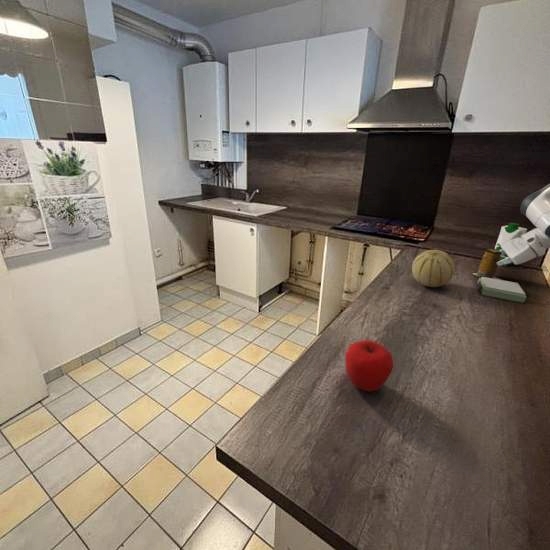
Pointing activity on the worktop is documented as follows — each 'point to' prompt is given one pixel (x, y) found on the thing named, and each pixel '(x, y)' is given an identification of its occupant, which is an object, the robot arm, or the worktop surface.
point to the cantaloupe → (433, 268)
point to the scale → (501, 289)
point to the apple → (368, 365)
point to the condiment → (489, 264)
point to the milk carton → (509, 237)
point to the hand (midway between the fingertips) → (495, 260)
